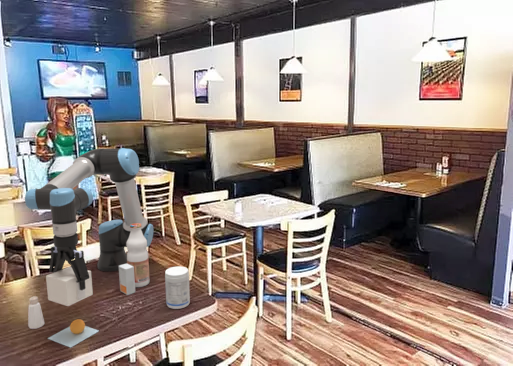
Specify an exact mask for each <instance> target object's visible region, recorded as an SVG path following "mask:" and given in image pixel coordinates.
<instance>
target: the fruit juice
mask: <svg viewBox="0 0 513 366" xmlns="http://www.w3.org/2000/svg"><path fill="white" fill-rule="evenodd" d="M130 229H131V232H130V235H129V238H128V240H127V242H126V246H127V247H126V249H127V252H126V255H127V264H129V265H131V266H133V267H134V277H135V288H142V287H145V286H147V285H149V284H150V279H151V278H150V265H149V264H150V263H149V262H150V260H149V251H148V249H147V248H148V247H147V240H146V238H145V237H144V235H143V233H142V231H141V224H140V223H134V224H131V225H130Z"/></svg>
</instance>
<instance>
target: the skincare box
mask: <svg viewBox="0 0 513 366" xmlns="http://www.w3.org/2000/svg"><path fill="white" fill-rule="evenodd" d="M118 276H119V277H118V278H119V280H118V281H119V291H120V293H123V294H125V295H126V296H129V295H132V294H134V293H136V287H135V277H134V267H133V266H131V265H129V264H127V263H126V264H123V265H120V266H119V270H118Z"/></svg>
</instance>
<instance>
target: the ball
mask: <svg viewBox="0 0 513 366" xmlns="http://www.w3.org/2000/svg"><path fill="white" fill-rule="evenodd" d="M85 326H86V322H85V321H84V320H82V319H81V318H78V319H74V320H73V321H71V323H70V325H69V327H70V330H71V332H72V333H74V334H79V333H81V332H82V331H83V330H84V328H85Z"/></svg>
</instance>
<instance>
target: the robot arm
mask: <svg viewBox="0 0 513 366" xmlns="http://www.w3.org/2000/svg"><path fill="white" fill-rule="evenodd" d="M139 164H140V160H139V157H138V154H137V153H136V151H135V150H133V149H131V148H125V147H121V148H111V147H110V148H105V147H103V148H96V149H92V150H89V151H87V152H85V153H83V154H81V155H79V156H78V157H76V158H75V159H74V160H73V162H72V164H71V165H70V166H68V167H67V168H66V169H64V170H63V171H62V172H60V173H59V174H58V175H57V176H55V177H54V178H52V179H51V180H50V181H49V182H47V183H46V184H45V185H43V186H42V187H41V188H30V189H29V190H27V192H26V193H25V197H24V202H25V205H26V207H27V209H30V210H38V211H41V210H42V211H43V210H44V211H47V210H48V211H49V210H50V213H51V222H52V223H51V224H52V233H53V235H54V236H53V246H51V247H50V259H49V260H50V261H49V272H50V273H51V274H52V273H55V272H57V271H60V270H62V269H64V268H63V267H64V265H65V262H67V263H68V264H69V265H70V266H71V267H72V269H73V271H74V273H75V276H76V278H77V280H78V281H76V287H77V299H78V300H80V299H82V298H84V297H86V296H85V288H86V287H85V280H87V279H89V274H88V267H87V263H86V260H85V256H84V255H85V253H84V251H83V250H78V249H77V245H78V243H79V236H78V233H77V232H78V224H77V215H76V213H77V212H79V211H82V210H85V209H86V208H88V207H89V206H91V204H92V203H93V201H94V195H93V194H94V193H92V191H91V190H90V189H89V188H87V187H83V186H82V187H77V186H78V185H79V184H80V183H81V182H82V181H84V180H85V179H88V178H91V177H92V176H94V175H96V176H97V175H105V176H106V175H109V179H110V181H111V182H112V183H114V184H115V187H116V192H117V196H118V199H119V203H120V208H121V211H122V214H123V215H122V216H123V219H124V221H123V220H122V219H113V220H108V221H104V222H101V223H100V224H99V226H98V243H99V255H98V256H99V257H98V261H97V269H98V270H99V271H101V272H116V271H119V266H120V265H123V264H126V263H127V252H126V251H125V248H127V246H126V242H127V240H128V238H129V235H130V232H131V229H130V225H131V224H134V223H140V224H141V231H142V233H143V235H144V237H145V238H146V240H147V248H148V247H150V245H151V244H152V241H153V238H154V225H153V224H152V223H148V220H147V218H145V216H143V211H142V208H141V203H140V198H139V194H138V189H137V185H136V182H135V178H136V177H137V174H138V173H139V171H140V165H139ZM75 187H77V188H75ZM80 277H81V278H80ZM84 299H85V298H84ZM82 300H83V299H82ZM80 301H81V300H80Z"/></svg>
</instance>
